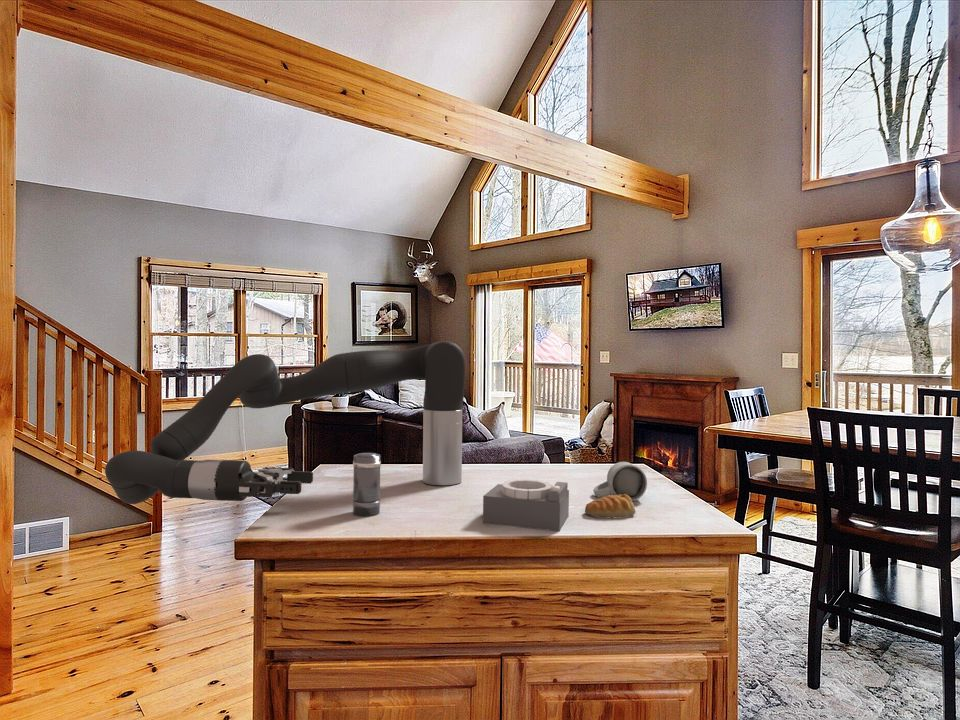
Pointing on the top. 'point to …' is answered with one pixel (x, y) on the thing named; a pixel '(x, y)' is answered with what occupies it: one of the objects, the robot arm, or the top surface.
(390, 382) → the robot arm
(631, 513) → the pastry
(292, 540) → the top surface
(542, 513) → the grey socket block
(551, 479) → the top surface
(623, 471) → the ceramic mug
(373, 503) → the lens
